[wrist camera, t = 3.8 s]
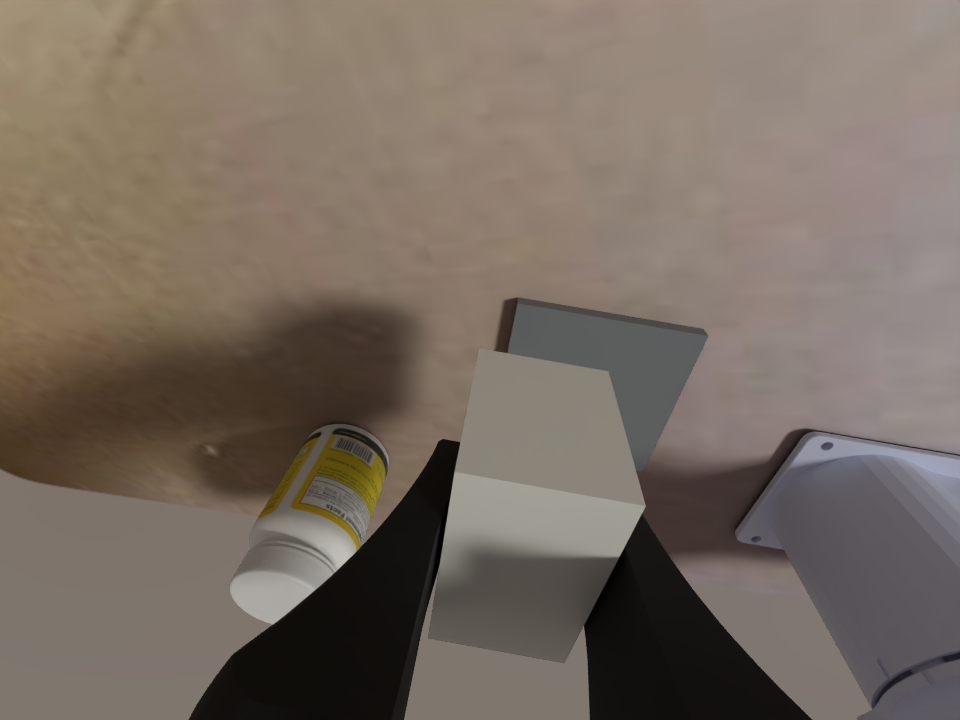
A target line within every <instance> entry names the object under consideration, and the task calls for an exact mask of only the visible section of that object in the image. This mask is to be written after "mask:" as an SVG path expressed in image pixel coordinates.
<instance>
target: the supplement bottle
mask: <svg viewBox="0 0 960 720" xmlns="http://www.w3.org/2000/svg"><path fill="white" fill-rule="evenodd" d="M388 468H389V458H388V454H387V452H386V450H385V448H384V446H383V445H382V444H381V442H380V441H379V440H378V439H377V438H376V437H375V436H373V435H372V434H371V433H369V432H367V431H366V430H364V429H362V428H359V427H356V426H353V425H348V424H332V425H327V426H323V427H321V428H319V429H317V430H315V431H314V432H313V433H312V434H311V435H310V436H309V437H308V439H307V440H306V442H305V443H304V445H303V446H302V448H301V450H300V451H299V453H298V454H297V456H296V458H295V459H294V461H293V463H292V464H291V466H290V467H289V469H288V471H287V472H286V474H285V476H284V477H283V479H282V480H281V482H280V484H279V485H278V487H277V488H276V490H275V492H274V493H273V495H272V496H271V498H270V500H269V501H268V503H267V504H266V506H265V508H264V509H263V511H262V512H261V514H260V515H259V517H258V519H257V520H256V522H255V524H254V526H253V528H252V530H251V533H250V538H249V544H250V550H249V551H248V553H247V555H246V556H245V558H244V559H243V561H242V563H241V565H240V566H239V568H238V569H237V571H236V573H235V575H234V577H233V578H232V580H231V582H230V587H229V589H230V594H231V597H232V598H233V600H234V601H235V603H236V604H237V605H238V606H239V607H240V608H241V609H243V610H244V611H245V612H246V613H248V614H249V615H251V616H253V617H255V618H257V619H259V620H261V621H264V622H266V623H270V624H272V625H273V624H274V623H276V622H277V621H278V620H280V619H281V618H282V617H283V616H285V615H286V614H287V613H288V612H290V611H291V610H292V609H293V608H294V607H296V606H297V605H298V604H299V603H300V602H302V601H303V600H304V599H305V598H306V597H307V596H309V595H310V594H311V593H312V592H313V591H315V590H316V589H317V588H318V587H319V586H321V585H322V584H323V583H324V582H325V581H326V580H327V579H328V578H330V577H331V576H332V575H333V574H334V573H335V572H336V571H337V570H338V569H339V568H340V567H341V566H342V565H343V564H344V563H345V562H346V561H347V560H348V559H349V558H351V557H352V556H353V555H354V554H355V553H356V552H357V551H358V550H359V549H360V548H361V545H362V542H363V539H364V536H365V534H366V531H367V528H368V525H369V522H370V520H371V517H372V514H373V511H374V509H375V506H376V503H377V500H378V497H379V495H380V492H381V489H382V486H383V483H384V480H385V478H386V475H387V471H388Z"/></svg>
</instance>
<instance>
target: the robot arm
mask: <svg viewBox="0 0 960 720" xmlns="http://www.w3.org/2000/svg"><path fill="white" fill-rule="evenodd" d="M826 442H827V443H826ZM460 443H461V442H456V441H451V440H445V439H442V440H440V441H438V444H437V446H436V448H435V450H434V452H433V454H432V456H431V458H430V459H429V461H428V463H427V465H426V466H425V468H424V469H423V471H422V472H421V474H420V475H419V477H418V478H417V480H416V481H415V483H414V484H413V485H412V487H411V488H410V490H409V491H408V492H407V494H406V495H405V496H404V498H403V499H402V500H401V502H400V503H399V504H398V505H397V507H396V508H395V509H394V510H393V511H392V513H391V514H390V515H389V516H388V518H387V519H386V520H385V521H384V522H383V524H382V525H381V526H380V527H379V528H378V529H377V530H376V531H375V533H374V534H373V535H372V536H371V537H370V538H369V539H368V540H367V542H365V543H364V544H363V545H362V546H361V548H360V549H359V550H358V551H357V552H356V553H355V554H354V555H353V556H352V557H351V558H349V559H348V560H347V561H346V562H345V563H344V564H343V565H342V566H341V567H340V568H339V569H338V570H337V571H336V572H335V573H334V574H333V575H332V576H331V577H330V578H328V579H327V580H326V581H325V582H324V583H323V584H322V585H321V586H319V587H318V588H317V589H316V590H315V591H313V592H312V593H311V594H310V595H309V596H307V597H306V598H305V599H304V600H303V601H302V602H300V603H299V604H298V605H297V606H296V607H294V608H293V609H292V610H291V611H290V612H288V613H287V614H286V615H285V616H283V617H282V618H281V619H280V620H278V621H277V622H276V623H274V624H273V625H272V626H270V627H269V628H268V629H266V630H265V631H264V632H262V633H261V634H260V635H258V636H257V637H255V638H254V639H253V640H251V641H250V642H249V643H247V644H246V645H245V646H244V647H242V648H241V649H239V650H238V651H237V652H235V653H234V654H233V655H232V656H231V657H230V659H229V660H228V661H227V662H226V664H225V665H224V666H223V668H222V669H221V670H220V672H219V673H218V674H217V675H216V677H215V678H214V680H213V681H212V683H211V684H210V685H209V687H208V688H207V690H206V691H205V693H204V694H203V696H202V698H201V699H200V701H199V702H198V704H197V705H196V707H195V709H194V711H193V713H192V715H191V717H190V718H189V720H404V716H405V711H406V707H407V701H408V696H409V691H410V686H411V681H412V676H413V671H414V666H415V661H416V656H417V651H418V646H419V641H420V636H421V631H422V627H423V623H424V619H425V615H426V611H427V607H428V603H429V600H430V596H431V593H432V590H433V586H434V583H435V579H436V575H437V572H438V569H439V565H440V560H441V553H442V547H443V541H444V535H445V528H446V522H447V516H448V510H449V503H450V497H451V491H452V485H453V478H454V472H455V467H456V462H457V457H458V452H459V448H460ZM824 443H826V444H824ZM822 444H823V445H822ZM735 536H736V538H737V540H738V541H739V542H742V543H747V544H753V545H759V546H765V547H771V548H776V549H782V550H784V551H785V553H786V555H787V557H788V559H789V560H790V562H791V564H792V566H793V568H794V569H795V571H796V573H797V575H798V577H799V578H800V580H801V582H802V584H803V586H804V587H805V589H806V591H807V593H808V595H809V596H810V598H811V600H812V602H813V603H814V605H815V607H816V609H817V611H818V613H819V614H820V616H821V618H822V620H823V622H824V623H825V625H826V627H827V629H828V630H829V632H830V634H831V636H832V638H833V640H834V641H835V643H836V645H837V647H838V648H839V650H840V652H841V654H842V656H843V657H844V659H845V661H846V663H847V665H848V666H849V668H850V670H851V672H852V674H853V676H854V677H855V679H856V681H857V683H858V685H859V686H860V688H861V690H862V692H863V694H864V695H865V697H866V699H867V701H868V703H869V704H870V706H871V708H872V710H871V711H869V712H867V713H866V714H863V715H861V716H858V718H857V720H960V456H957V455H951V454H945V453H939V452H933V451H927V450H922V449H916V448H910V447H904V446H898V445H893V444H887V443H881V442H875V441H869V440H863V439H858V438H852V437H846V436H840V435H834V434H829V433H823V432H810V433H807V434H805V435H804V436H803V437H802V438H801V440H800V441H799V442H798V444H797V445H796V447H795V448H794V449H793V451H792V452H791V454H790V455H789V456H788V458H787V459H786V461H785V462H784V463H783V465H782V466H781V468H780V469H779V470H778V472H777V473H776V475H775V476H774V477H773V479H772V480H771V482H770V483H769V484H768V486H767V487H766V489H765V490H764V491H763V493H762V494H761V496H760V497H759V498H758V500H757V501H756V503H755V504H754V505H753V507H752V508H751V510H750V511H749V512H748V514H747V515H746V517H745V518H744V519H743V521H742V522H741V524H740V525H739V526H738V528H737V529H736V531H735ZM584 630H585V637H586V646H587V658H588V680H589V706H590V720H812V719H811V718H810V717H809V716H808V715H807V714H806V713H805V712H804V711H803V710H802V709H801V708H800V707H799V706H798V705H797V704H795V702H794V701H793V700H792V699H791V698H789V697H788V696H787V695H786V694H785V693H784V692H783V691H782V690H781V689H780V688H779V687H778V686H777V685H776V684H775V683H774V682H773V680H771V678H769V676H768V675H767V674H766V673H765V672H764V671H763V670H762V669H761V668H760V667H759V666H758V665H757V664H756V663H755V662H754V660H753V659H752V658H751V657H750V656H749V655H748V654H747V653H746V652H745V651H744V650H743V648H742V647H741V646H740V645H739V644H738V643H737V642H736V641H735V640H734V639H733V637H732V636H731V635H730V634H729V633H728V632H727V630H726V629H724V627H723V626H722V625H721V624H720V623H719V621H718V620H717V619H716V617H715V616H714V615H713V614H712V613H711V611H710V610H709V609H708V608H707V606H706V605H705V604H704V603H703V601H701V599H700V598H699V597H698V595H697V594H696V593H695V591H694V590H693V589H692V587H691V586H690V585H689V583H688V582H687V581H686V579H685V578H684V577H683V575H682V574H681V572H680V571H679V570H678V568H677V567H676V565H675V564H674V563H673V561H672V560H671V558H670V557H669V555H668V554H667V552H666V551H665V549H664V548H663V546H662V545H661V543H660V542H659V540H658V538H657V537H656V535H655V534H654V532H653V531H652V529H651V528H650V526H649V524H648V523H647V521H646V520H645V518H644V516H643V515H641V517H640V518H639V520H638V522H637V524H636V526H635V528H634V530H633V532H632V534H631V536H630V538H629V540H628V542H627V543H626V545H625V547H624V549H623V551H622V553H621V555H620V557H619V559H618V561H617V563H616V565H615V567H614V568H613V570H612V572H611V574H610V576H609V578H608V580H607V582H606V584H605V586H604V588H603V590H602V592H601V593H600V595H599V597H598V599H597V601H596V603H595V605H594V607H593V609H592V611H591V613H590V615H589V617H588V619H587V620H586V622H585V624H584Z"/></svg>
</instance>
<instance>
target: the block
mask: <svg viewBox="0 0 960 720" xmlns="http://www.w3.org/2000/svg"><path fill="white" fill-rule="evenodd" d="M645 507H646V505H645V501H644V498H643V494H642V491H641V487H640V483H639V480H638V476H637V473H636V469H635V465H634V462H633V458H632V454H631V451H630V447H629V444H628V440H627V436H626V433H625V429H624V426H623V422H622V418H621V415H620V411H619V407H618V404H617V400H616V397H615V393H614V389H613V386H612V382H611V379H610V375H609V371H604V370H599V369H593V368H587V367H582V366H576V365H570V364H565V363H559V362H553V361H548V360H542V359H536V358H531V357H525V356H519V355H514V354H508V353H502V352H497V351H491V350H486V349H479V354H478V359H477V364H476V369H475V374H474V379H473V383H472V388H471V393H470V398H469V403H468V408H467V413H466V418H465V423H464V428H463V433H462V438H461V443H460V448H459V452H458V457H457V462H456V467H455V472H454V478H453V485H452V491H451V497H450V503H449V510H448V516H447V522H446V528H445V535H444V541H443V547H442V553H441V560H440V566H439V572H438V578H437V584H436V591H435V597H434V603H433V610H432V616H431V622H430V628H429V634H428V638H429V639H435V640H440V641H445V642H451V643H456V644H462V645H467V646H473V647H478V648H483V649H489V650H494V651H500V652H505V653H511V654H516V655H522V656H527V657H533V658H538V659H543V660H549V661H555V662H560V663H565V661H566V659H567V657H568V655H569V653H570V651H571V649H572V647H573V645H574V644H575V642H576V640H577V638H578V636H579V634H580V632H581V630H582V628H583V626H584V624H585V622H586V620H587V619H588V617H589V615H590V613H591V611H592V609H593V607H594V605H595V603H596V601H597V599H598V597H599V595H600V593H601V592H602V590H603V588H604V586H605V584H606V582H607V580H608V578H609V576H610V574H611V572H612V570H613V568H614V567H615V565H616V563H617V561H618V559H619V557H620V555H621V553H622V551H623V549H624V547H625V545H626V543H627V542H628V540H629V538H630V536H631V534H632V532H633V530H634V528H635V526H636V524H637V522H638V520H639V518H640V517H641V515H642V513H643V511H644V509H645Z"/></svg>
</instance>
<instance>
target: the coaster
mask: <svg viewBox="0 0 960 720" xmlns="http://www.w3.org/2000/svg"><path fill="white" fill-rule="evenodd" d="M707 338H708V335H707V333H706V332H705V331H704V329H699V328H693V327H687V326H681V325H675V324H670V323H664V322H658V321H652V320H646V319H640V318H634V317H629V316H623V315H617V314H611V313H605V312H599V311H594V310H588V309H582V308H576V307H570V306H564V305H558V304H553V303H547V302H541V301H535V300H529V299H523V298H518V300H517V305H516V310H515V315H514V319H513V324H512V329H511V334H510V339H509V344H508V349H507V353H508V354H514V355H519V356H525V357H531V358H536V359H542V360H548V361H553V362H559V363H565V364H570V365H576V366H582V367H587V368H593V369H599V370H604V371H609V375H610V379H611V382H612V386H613V389H614V393H615V397H616V400H617V404H618V407H619V411H620V415H621V418H622V422H623V426H624V429H625V433H626V436H627V440H628V444H629V447H630V451H631V454H632V458H633V462H634V465H635V469H636V470H637V471H642V472H643V471H644V469H645V467H646V464H647V462H648V460H649V458H650V456H651V454H652V452H653V450H654V448H655V446H656V444H657V442H658V440H659V437H660V435H661V433H662V431H663V429H664V427H665V425H666V423H667V421H668V419H669V417H670V415H671V413H672V411H673V408H674V406H675V404H676V402H677V400H678V398H679V396H680V394H681V392H682V390H683V388H684V386H685V384H686V381H687V379H688V377H689V375H690V373H691V371H692V369H693V367H694V365H695V363H696V361H697V359H698V357H699V355H700V352H701V350H702V348H703V346H704V344H705V342H706V340H707Z"/></svg>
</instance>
